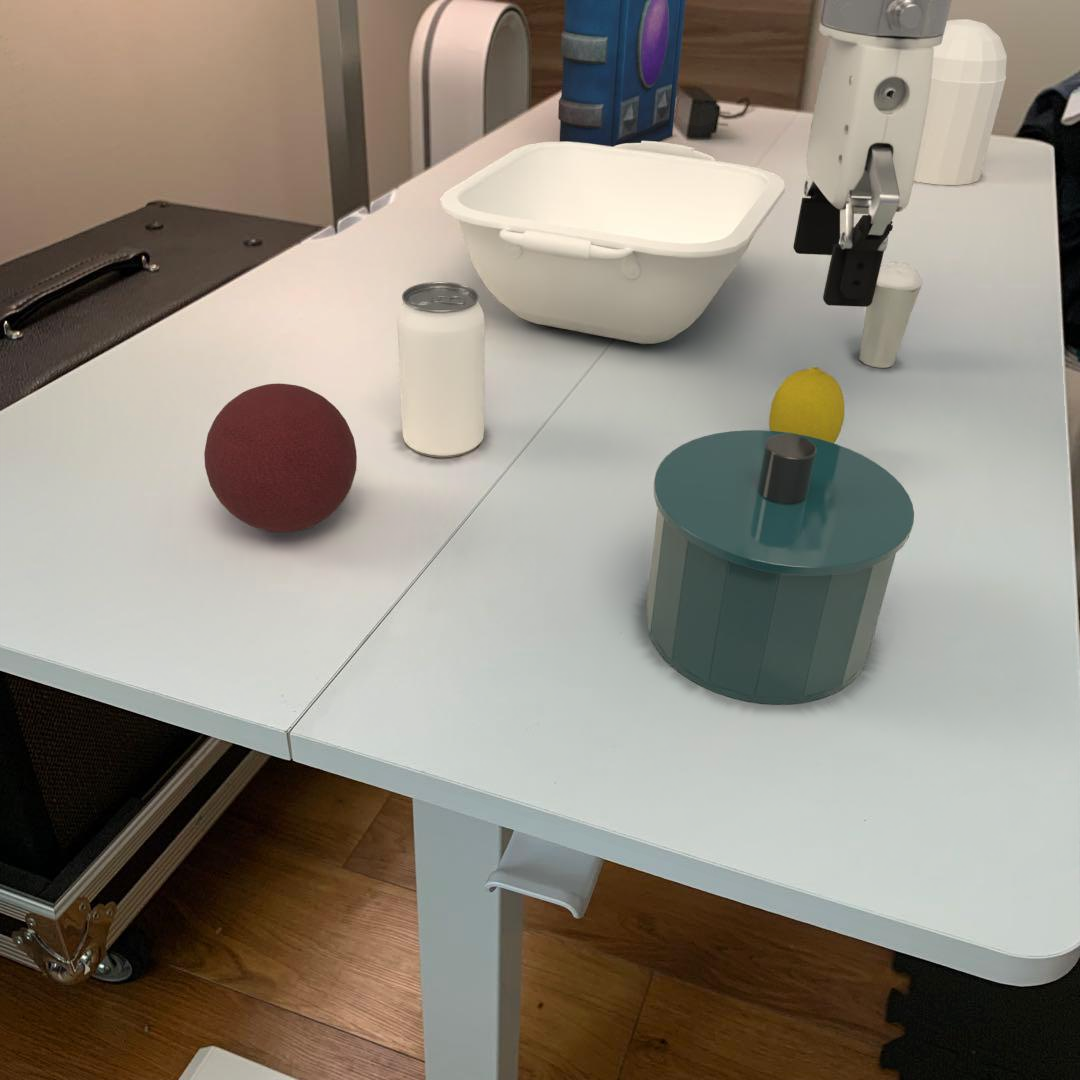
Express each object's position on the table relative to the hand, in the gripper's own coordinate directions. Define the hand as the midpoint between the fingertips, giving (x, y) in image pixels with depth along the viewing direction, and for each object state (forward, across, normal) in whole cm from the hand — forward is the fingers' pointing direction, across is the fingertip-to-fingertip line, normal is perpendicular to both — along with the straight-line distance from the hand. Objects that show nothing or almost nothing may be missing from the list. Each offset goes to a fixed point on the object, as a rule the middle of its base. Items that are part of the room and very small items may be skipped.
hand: (829, 277), depth 76 cm
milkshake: (+15, +19, -12) cm, 27 cm away
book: (+16, +91, +8) cm, 92 cm away
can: (+15, +2, +28) cm, 32 cm away
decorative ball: (+16, -10, +38) cm, 42 cm away
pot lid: (+6, -21, +7) cm, 23 cm away
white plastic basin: (+15, +29, +12) cm, 35 cm away
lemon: (+15, 0, 0) cm, 15 cm away
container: (+15, +84, -38) cm, 93 cm away
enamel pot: (+15, -21, +7) cm, 27 cm away
